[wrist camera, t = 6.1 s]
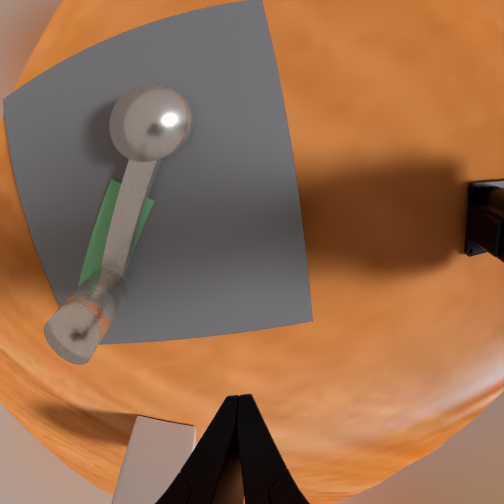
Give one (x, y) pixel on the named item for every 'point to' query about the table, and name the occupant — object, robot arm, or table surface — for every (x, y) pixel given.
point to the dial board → (171, 178)
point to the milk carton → (153, 460)
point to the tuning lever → (122, 214)
